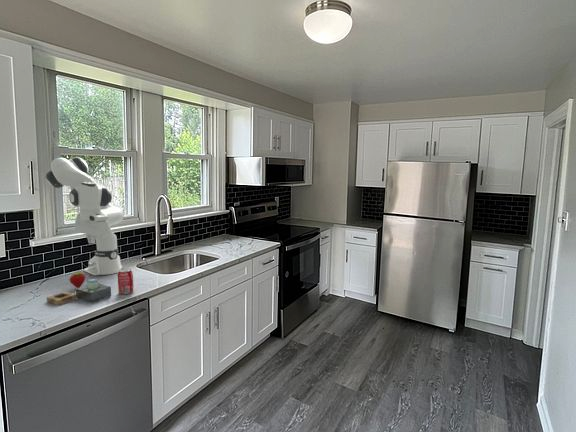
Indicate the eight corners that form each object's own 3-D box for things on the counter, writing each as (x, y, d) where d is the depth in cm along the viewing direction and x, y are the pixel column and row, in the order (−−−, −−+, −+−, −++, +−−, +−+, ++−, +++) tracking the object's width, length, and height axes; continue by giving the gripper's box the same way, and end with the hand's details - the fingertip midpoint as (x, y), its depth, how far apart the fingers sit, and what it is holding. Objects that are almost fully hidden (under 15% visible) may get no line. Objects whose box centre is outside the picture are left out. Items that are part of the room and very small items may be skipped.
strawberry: (67, 289, 174) (66, 271, 172) (81, 284, 181) (79, 267, 179) (75, 291, 172) (74, 272, 170) (88, 286, 179) (87, 268, 177)
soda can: (128, 289, 176) (127, 267, 175) (136, 291, 173) (135, 269, 171) (115, 293, 170) (114, 270, 169) (123, 296, 167) (122, 273, 165)
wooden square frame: (47, 302, 157) (46, 297, 157) (65, 296, 165) (65, 291, 165) (57, 305, 154) (57, 300, 153) (76, 299, 161) (76, 294, 161)
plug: (88, 297, 164) (87, 280, 162) (94, 295, 166) (93, 278, 165) (92, 299, 162) (91, 281, 161) (98, 296, 165) (97, 279, 164)
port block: (76, 298, 162) (75, 288, 162) (95, 291, 171) (95, 282, 171) (91, 303, 157) (91, 292, 157) (111, 296, 166) (110, 286, 165)
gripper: (70, 213, 163) (72, 241, 165) (98, 218, 154) (99, 247, 156) (83, 212, 169) (84, 239, 171) (110, 216, 160) (111, 244, 162)
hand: (91, 243), depth 164 cm, fingers closed
